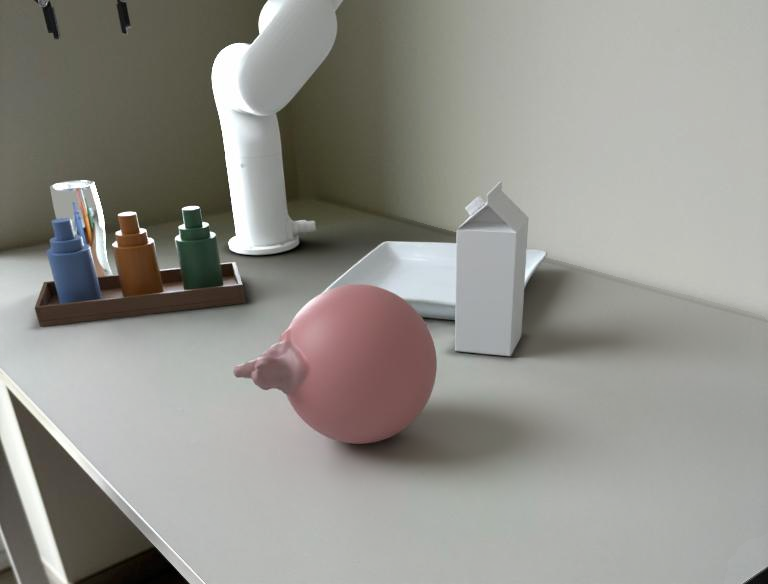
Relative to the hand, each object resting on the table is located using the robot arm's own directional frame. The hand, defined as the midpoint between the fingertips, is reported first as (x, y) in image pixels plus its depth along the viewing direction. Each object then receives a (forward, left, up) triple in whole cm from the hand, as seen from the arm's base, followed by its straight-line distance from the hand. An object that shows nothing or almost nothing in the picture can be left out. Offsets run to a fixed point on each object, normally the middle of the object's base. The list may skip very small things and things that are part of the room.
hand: (91, 36), depth 118 cm
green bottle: (-10, +19, -33) cm, 40 cm away
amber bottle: (-1, +19, -33) cm, 38 cm away
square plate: (-44, +31, -34) cm, 64 cm away
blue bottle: (+8, +19, -33) cm, 39 cm away
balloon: (-21, +71, -34) cm, 82 cm away
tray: (-1, +19, -34) cm, 39 cm away
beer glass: (+7, +6, -34) cm, 35 cm away
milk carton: (-44, +52, -34) cm, 76 cm away
